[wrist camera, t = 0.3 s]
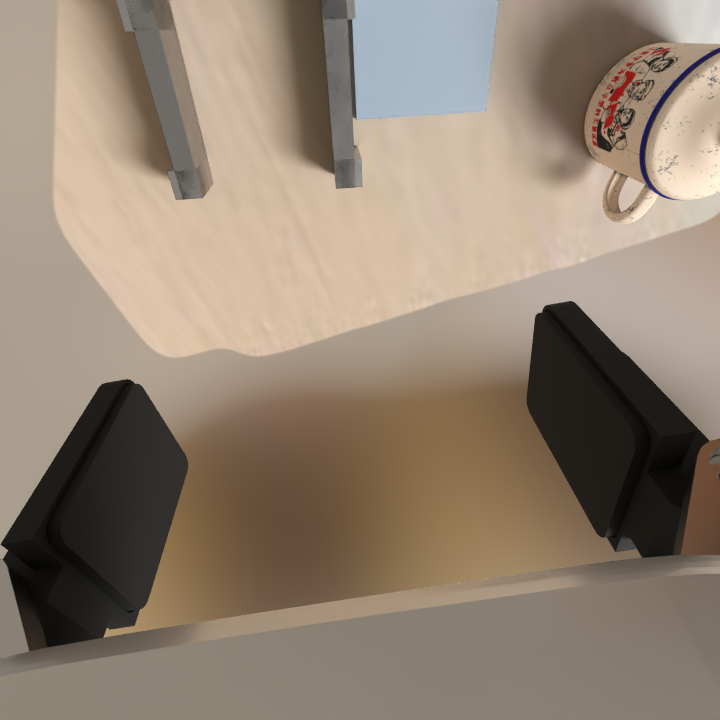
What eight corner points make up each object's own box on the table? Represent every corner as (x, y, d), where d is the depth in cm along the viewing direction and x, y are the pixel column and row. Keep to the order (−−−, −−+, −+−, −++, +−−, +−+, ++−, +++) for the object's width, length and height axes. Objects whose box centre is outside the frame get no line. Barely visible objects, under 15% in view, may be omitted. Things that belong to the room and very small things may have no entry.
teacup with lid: (627, 18, 31) (759, 12, 21) (723, 63, 33) (881, 75, 24) (538, 186, 37) (610, 236, 28) (623, 214, 40) (715, 269, 30)
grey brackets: (135, -7, 28) (111, -12, 25) (350, -19, 28) (353, -26, 25) (188, 184, 35) (175, 199, 32) (358, 173, 36) (362, 187, 32)
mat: (348, -61, 27) (348, -63, 27) (503, -69, 27) (507, -71, 27) (356, 118, 33) (356, 119, 33) (483, 110, 34) (485, 111, 33)
